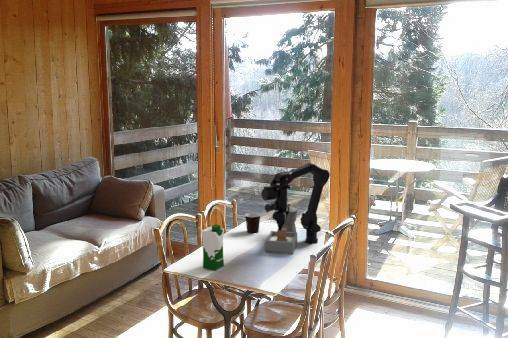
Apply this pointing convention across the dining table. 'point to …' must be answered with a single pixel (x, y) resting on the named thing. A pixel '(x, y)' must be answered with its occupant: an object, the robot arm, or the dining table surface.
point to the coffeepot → (291, 220)
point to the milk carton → (213, 247)
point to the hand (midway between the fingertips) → (281, 227)
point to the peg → (281, 234)
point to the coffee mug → (252, 222)
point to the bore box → (281, 243)
